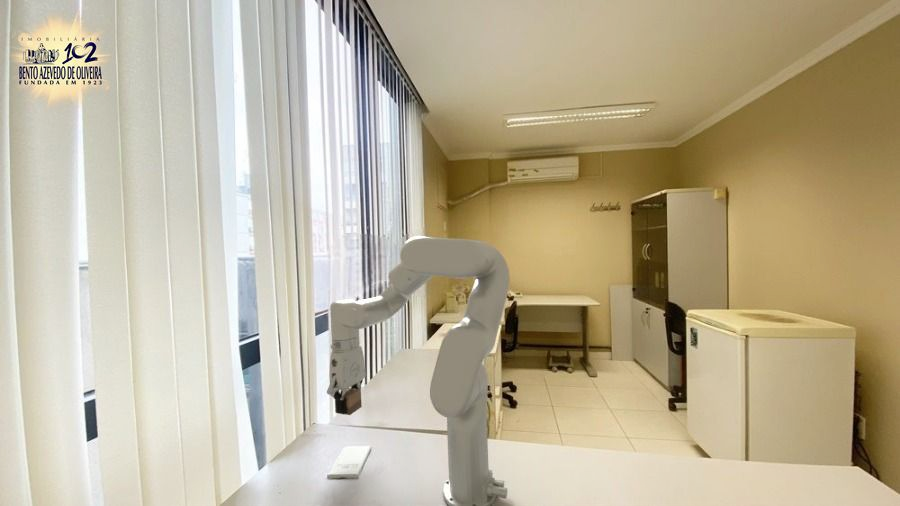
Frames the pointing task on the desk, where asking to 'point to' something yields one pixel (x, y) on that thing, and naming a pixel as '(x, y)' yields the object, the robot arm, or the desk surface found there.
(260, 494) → the desk surface
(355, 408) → the walnut block
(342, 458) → the external hard drive
